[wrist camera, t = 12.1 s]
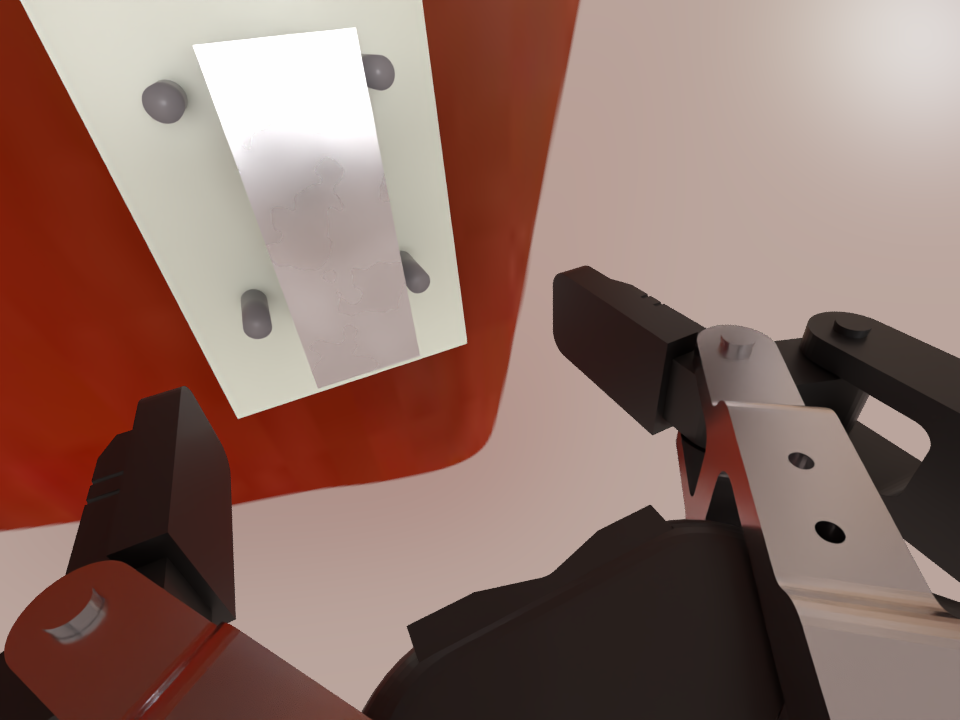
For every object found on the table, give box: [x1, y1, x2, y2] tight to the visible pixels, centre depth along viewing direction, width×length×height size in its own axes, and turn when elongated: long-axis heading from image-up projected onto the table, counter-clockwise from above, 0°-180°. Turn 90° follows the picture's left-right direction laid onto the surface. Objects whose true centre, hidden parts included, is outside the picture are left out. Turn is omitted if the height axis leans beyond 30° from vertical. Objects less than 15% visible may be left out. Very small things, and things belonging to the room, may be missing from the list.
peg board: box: [20, 0, 467, 419], centre depth 22 cm, size 22×14×4 cm, turn 6°
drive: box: [193, 28, 420, 389], centre depth 20 cm, size 12×5×7 cm, turn 6°
